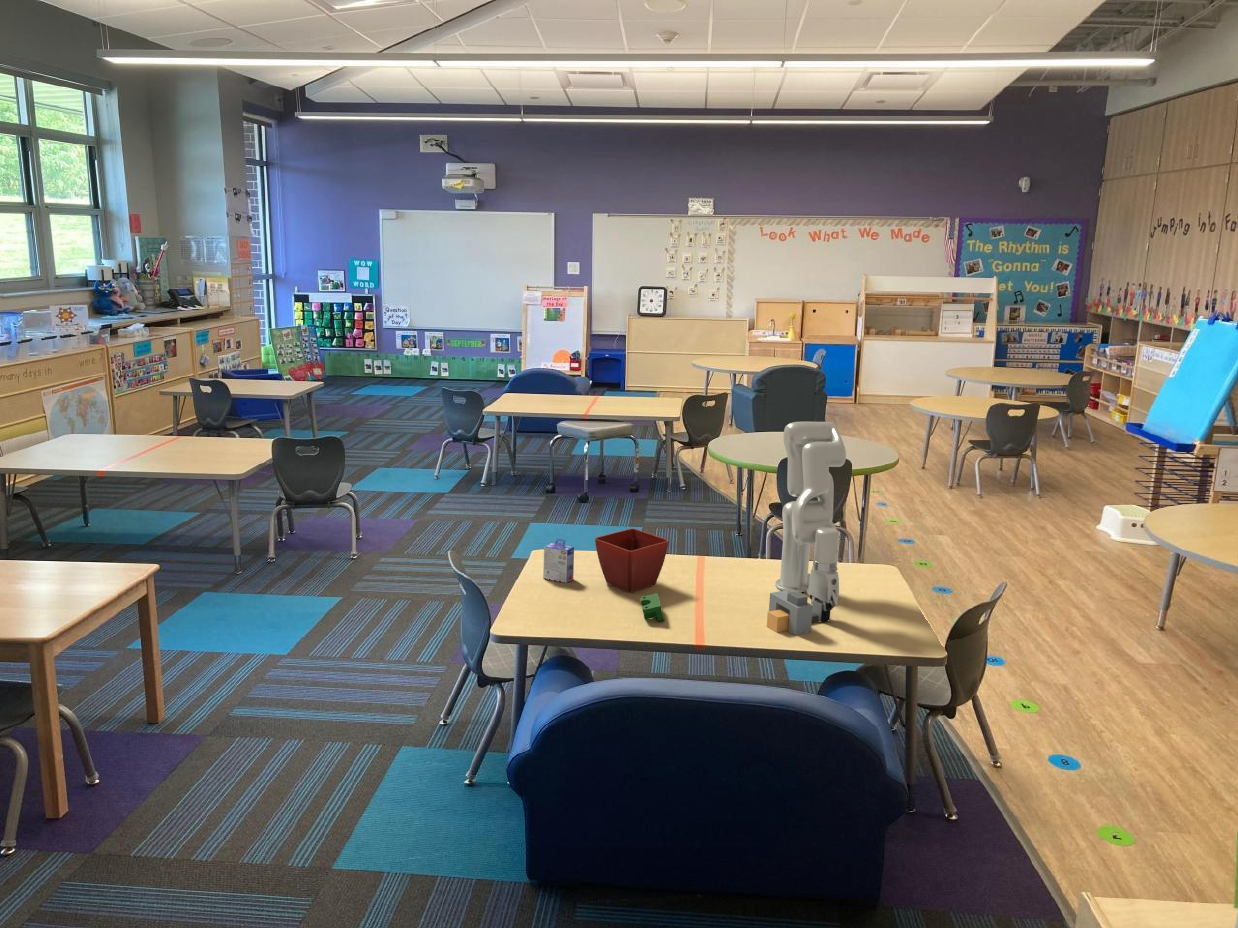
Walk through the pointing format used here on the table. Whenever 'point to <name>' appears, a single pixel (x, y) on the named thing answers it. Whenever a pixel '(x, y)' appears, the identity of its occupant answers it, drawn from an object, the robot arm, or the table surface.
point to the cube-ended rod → (780, 619)
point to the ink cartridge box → (558, 562)
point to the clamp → (652, 607)
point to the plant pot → (631, 558)
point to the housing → (793, 610)
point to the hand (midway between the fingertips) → (820, 618)
